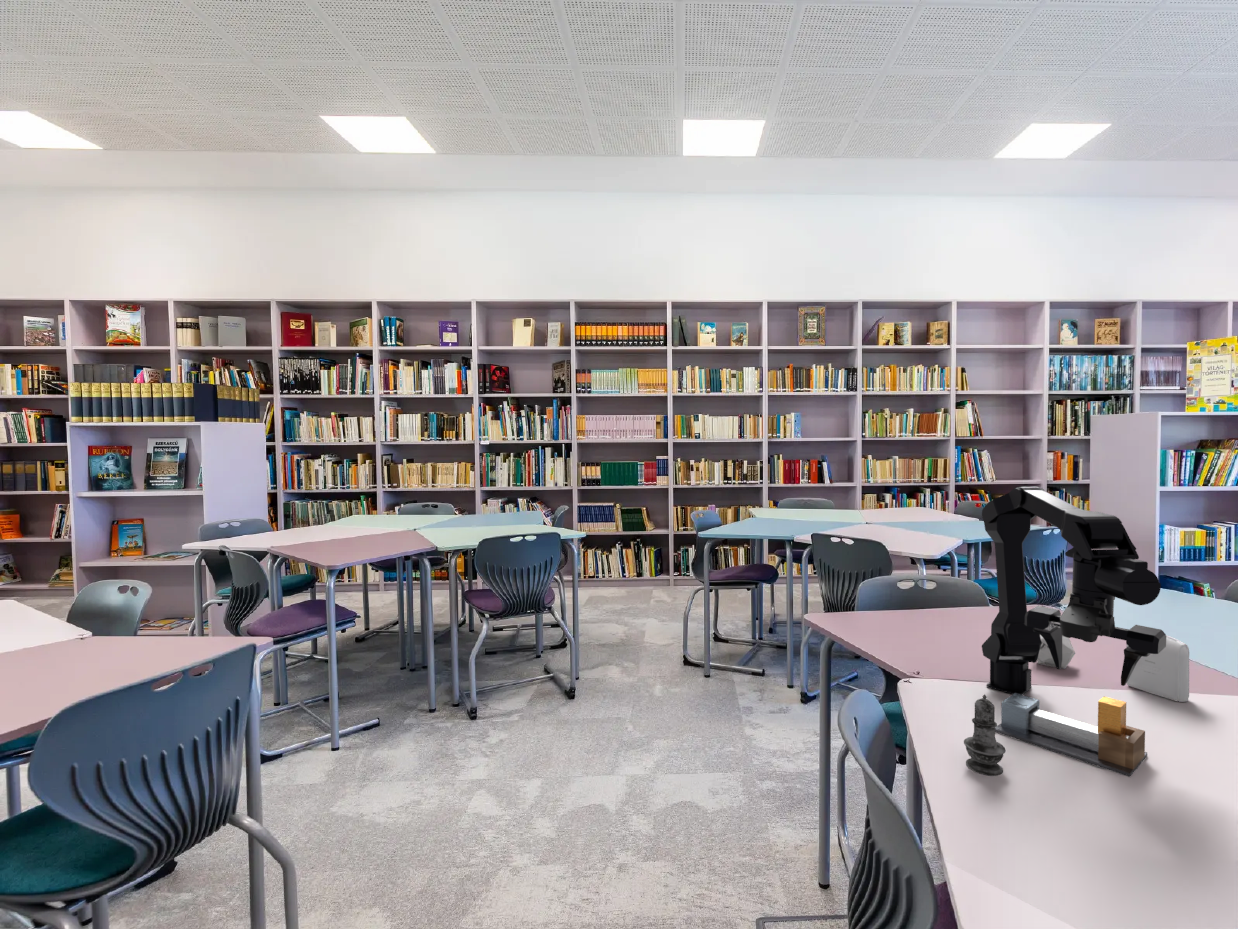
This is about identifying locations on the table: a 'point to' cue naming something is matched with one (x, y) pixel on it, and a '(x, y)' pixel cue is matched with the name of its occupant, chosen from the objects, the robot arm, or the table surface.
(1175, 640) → the photo printer
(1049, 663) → the die
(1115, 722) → the silver bar
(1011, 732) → the long dark base plate
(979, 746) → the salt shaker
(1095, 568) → the robot arm
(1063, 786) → the table surface
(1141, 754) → the socket block
